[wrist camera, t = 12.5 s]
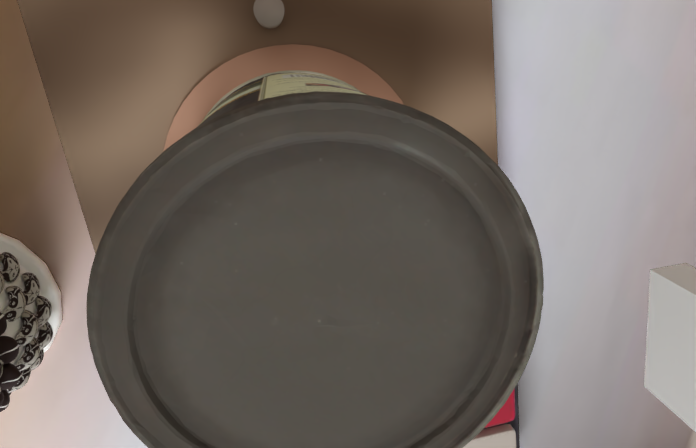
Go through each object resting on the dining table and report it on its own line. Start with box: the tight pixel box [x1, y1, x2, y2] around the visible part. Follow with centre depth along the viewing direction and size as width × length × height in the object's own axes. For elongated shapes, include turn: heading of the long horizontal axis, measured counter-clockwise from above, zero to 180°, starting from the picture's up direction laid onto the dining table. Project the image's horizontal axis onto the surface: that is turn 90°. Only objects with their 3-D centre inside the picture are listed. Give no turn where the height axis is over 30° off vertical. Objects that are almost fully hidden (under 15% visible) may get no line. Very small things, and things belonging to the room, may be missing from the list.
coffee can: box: [87, 70, 543, 448], centre depth 18 cm, size 10×10×14 cm
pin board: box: [17, 0, 498, 254], centre depth 25 cm, size 20×20×4 cm
